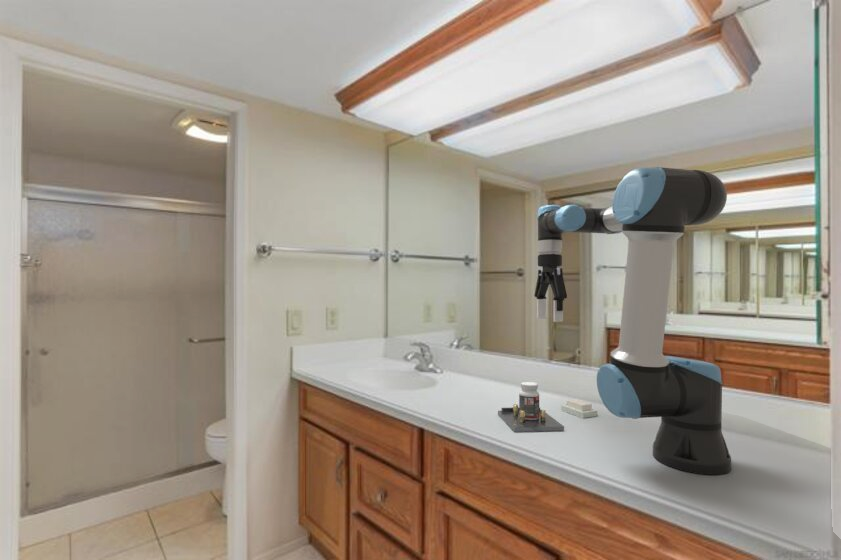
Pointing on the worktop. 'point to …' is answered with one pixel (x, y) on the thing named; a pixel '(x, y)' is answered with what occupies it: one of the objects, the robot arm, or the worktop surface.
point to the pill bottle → (529, 400)
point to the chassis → (528, 421)
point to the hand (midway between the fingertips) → (549, 320)
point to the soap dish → (581, 414)
